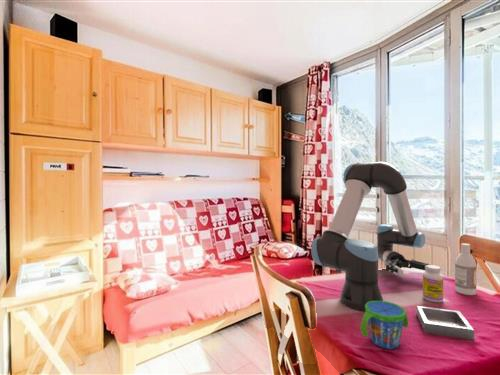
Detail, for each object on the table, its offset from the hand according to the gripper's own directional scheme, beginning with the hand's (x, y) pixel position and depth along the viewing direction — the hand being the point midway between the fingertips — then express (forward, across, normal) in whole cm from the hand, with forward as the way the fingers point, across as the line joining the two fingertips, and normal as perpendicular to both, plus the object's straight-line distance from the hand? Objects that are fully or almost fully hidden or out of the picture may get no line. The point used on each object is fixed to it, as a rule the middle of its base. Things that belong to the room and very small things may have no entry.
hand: (418, 273), depth 118 cm
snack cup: (+38, +32, -7) cm, 50 cm away
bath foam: (+3, -17, -7) cm, 19 cm away
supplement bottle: (+10, 0, -7) cm, 12 cm away
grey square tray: (+29, +10, -7) cm, 32 cm away
